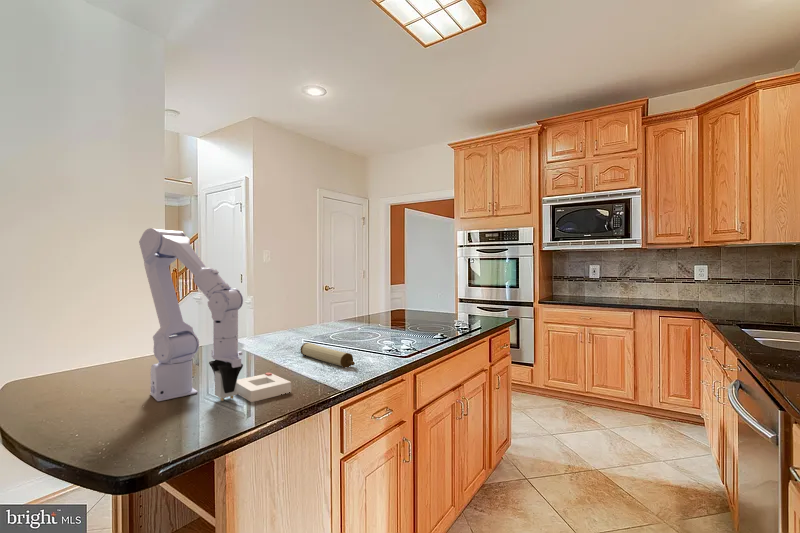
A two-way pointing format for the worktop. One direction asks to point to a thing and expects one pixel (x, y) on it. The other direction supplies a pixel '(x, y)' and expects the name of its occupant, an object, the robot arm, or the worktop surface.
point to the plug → (219, 387)
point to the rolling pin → (327, 355)
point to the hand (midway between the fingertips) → (225, 389)
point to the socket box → (262, 387)
